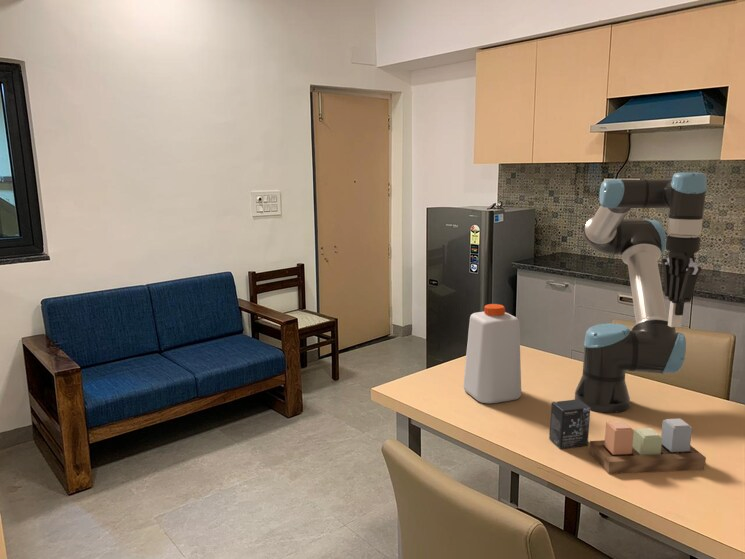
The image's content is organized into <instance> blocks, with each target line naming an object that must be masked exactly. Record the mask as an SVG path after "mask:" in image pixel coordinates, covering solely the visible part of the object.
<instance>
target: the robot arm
mask: <svg viewBox="0 0 745 559" xmlns="http://www.w3.org/2000/svg"><path fill="white" fill-rule="evenodd" d="M707 180H708V178H707V174H706V173H704V172H675V173H674V174H673V176H672V177H671V178H667V179H665V178H664V179H659V178H658V179H657V178H656V179H652V178H651V179H648V178H647V179H635V178H634V179H629V178H628V179H627V178H625V179H621V178H615V179H604V181H602V182H601V184H600V188H599V196H598V198H599V204H600V206H599V207H598V209H597V210H596V213H595V214H594V216H592V217H591V218H589V219H588V220H587V221H586V223H585V225H584V227H583V237H584V239H585V242H586V244H587V245H588V246H589V247H590V248H591V249H593V250H595V251H597V252H598V253H601V254H604V255H612V256H613V255H616V256H617V255H618V256H619V255H621V260H622V262H623V263H624V264H625V265H627V267H628V268H627V269H628V276H629V283H630V290H631V295H632V304H633V312H634V318H635V324H634V325H633V326H632V327H631V330H630V328H629V327H628V326H627V325H626V324H621V323H615V322H614V323H612V322H611V323H609V322H607V323H598V324H595V325H593V326H590V327H588V328H587V330H586V332H585V338H584V341H583V345H584V349H583V350H584V352H583V363H582V364H583V365H582V375H581V377H580V380H579V382H578V384H577V386H576V389H575V392H574V400H575V399H579V400H580V401H582V402H583V403H585V404H586V405H587V406H589V407H590V408H591V409H590V411H594V412H600V413H608V414H609V413H610V414H612V413H613V414H614V413H621V412H624V411H625V412H626V411H627V410H628V409H629V408H630V404H631V403H630V402H631V397H630V395H629V389H628V388H627V387H628V386H627V383H626V374H627V373H626V372H637V373H639V372H640V373H651V374H652V373H655V374H661V375H662V374H676V373H678V372H679V371H681V369H682V368H683V365H684V363H685V359H686V352H687V341H686V340H687V339H686V336H685V334H684V333H683V332H677V331H676V328H682V322H683V315H684V309H685V308H684V307H685V304H686V303H690V302H691V301H692V298H693V294H694V290H695V288H696V283H697V280H698V278H699V277H698V276H699V274H700V273H701V272H702V267H701V266H697V265H696V264H695V262H696V259H695V258H696V257H695V254H696V253H698V252H699V251H700V247H701V241H702V239H701V238H702V237H701V238H700V236H701V234H702V227H703V218H704V213H705V212H704V211H705V203H706V194H707V193H706V192H707V189H708V186H707V183H708V182H707ZM632 209H668V210H669V211H668V218H667V228H666V229H667V230H666V232H665V229H664V226H663V225H662V223H661V222H660V221H658V220H654V219H648V218H644V219H625V217H626V216H627V215H628V213H629V212H630V210H632ZM666 233H667V234H668V235H667V236H666ZM665 250H666V251H668V252H669V253H668V257H667V258H662V260H661V263H662V268H663V284H664V285H663V286H662V280H661V275H660V270H659V269H660V268H659V264H658V263H659V262H658V260H660V258H661V256H662V255H663V254H664V252H665ZM663 287H664V290H663ZM664 296H665V297H667V298H668V300H669V308H668V314H667V307H666V304H665V297H664Z"/></svg>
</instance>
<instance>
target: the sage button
mask: <svg viewBox="0 0 745 559" xmlns="http://www.w3.org/2000/svg"><path fill="white" fill-rule="evenodd" d="M633 430H634V434H633V445H632V447H633V448H634V449H635V450H636V451H637V452H638V453H639V454H640V455H658V454H661V445H662V437H661V435H660V434H659V433H657V432H656V431H655V430H654V429H653V428H651V427H648V428H643V427H642V428H636V429H635V428H634V429H633Z"/></svg>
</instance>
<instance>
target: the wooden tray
mask: <svg viewBox="0 0 745 559" xmlns="http://www.w3.org/2000/svg"><path fill="white" fill-rule="evenodd" d="M604 442H605V439H604V440H590V441H589V454H590V455H591V456H592V457H593V458H594V459H595V460H596V461H597V463H598V464H599V465H600V466H601V467H602V468H603V469H604V471H605V472H606V473H607V475H608V474H609V475H612V474H615V475H616V474H632V473H633V474H634V473H635V474H636V473H649V472H650V473H651V472H652V473H655V472H676V471H693V470H694V471H697V470H705V468H706V461H707V457H706V456H705V455H703V454H702V453H701V452H700V451H698V450H697V449H696V448H695V447H693V446H692V444H690V451H683V452H671V451H669V450H668V449H667V448H666V447H665V446H664V445H663V444H662V445H661V454H658V455H640V454H639V453H638V452H637V451H636V450H635V449H634V448H633V447H632V454H616V455H613V454H612V453H611V452H610V451H609V450H608V449H607V448H606V447H605V446H604Z"/></svg>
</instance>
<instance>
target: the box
mask: <svg viewBox="0 0 745 559" xmlns="http://www.w3.org/2000/svg"><path fill="white" fill-rule="evenodd" d="M590 409H591V408H590V407H589V406H587V405H586V404H585V403H583V402H582V401H580V400H579V399H575V398H574V399H567V400H560V401H551V409H550V422H549V433H548V434H549V436H548V440H550V441H551V442H552V443H553V444H554V445H555V446H556V447H557V448H558V449H559V450H563V449H570V448H576V447H587V446H588V443H589V433H590V432H589V430H590V419H591V410H590Z"/></svg>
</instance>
